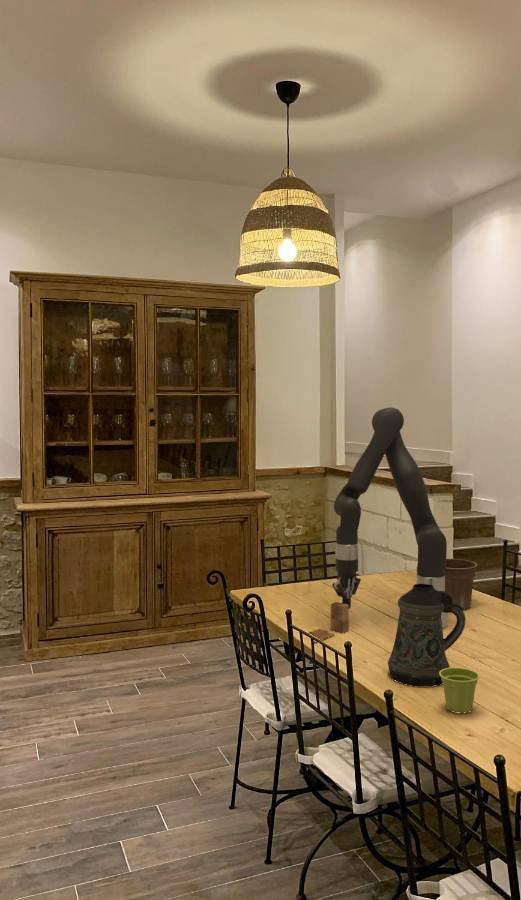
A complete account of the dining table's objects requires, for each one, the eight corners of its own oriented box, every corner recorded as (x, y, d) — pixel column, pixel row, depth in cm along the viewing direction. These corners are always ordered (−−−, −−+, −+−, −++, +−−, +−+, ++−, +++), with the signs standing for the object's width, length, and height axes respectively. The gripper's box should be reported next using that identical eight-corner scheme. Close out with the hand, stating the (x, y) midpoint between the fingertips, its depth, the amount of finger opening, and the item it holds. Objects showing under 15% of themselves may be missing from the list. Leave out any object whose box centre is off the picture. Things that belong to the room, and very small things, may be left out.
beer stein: (376, 670, 205) (376, 581, 203) (435, 661, 212) (435, 575, 210) (409, 691, 189) (410, 595, 188) (471, 680, 196) (472, 588, 195)
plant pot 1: (475, 614, 260) (476, 569, 259) (428, 610, 265) (429, 566, 264) (477, 602, 275) (478, 560, 274) (433, 599, 280) (433, 557, 279)
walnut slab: (348, 631, 240) (348, 604, 240) (343, 633, 238) (343, 606, 238) (336, 628, 244) (336, 601, 243) (330, 630, 241) (330, 603, 241)
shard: (315, 645, 228) (315, 640, 228) (295, 640, 233) (295, 635, 233) (335, 637, 236) (335, 632, 236) (316, 632, 241) (316, 627, 241)
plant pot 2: (436, 714, 175) (436, 678, 175) (441, 699, 184) (441, 665, 184) (477, 719, 172) (477, 683, 172) (480, 704, 181) (480, 669, 180)
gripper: (343, 561, 235) (343, 615, 236) (367, 555, 245) (367, 606, 246) (325, 558, 240) (325, 610, 241) (349, 552, 250) (349, 602, 251)
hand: (346, 608), depth 244 cm, fingers closed
